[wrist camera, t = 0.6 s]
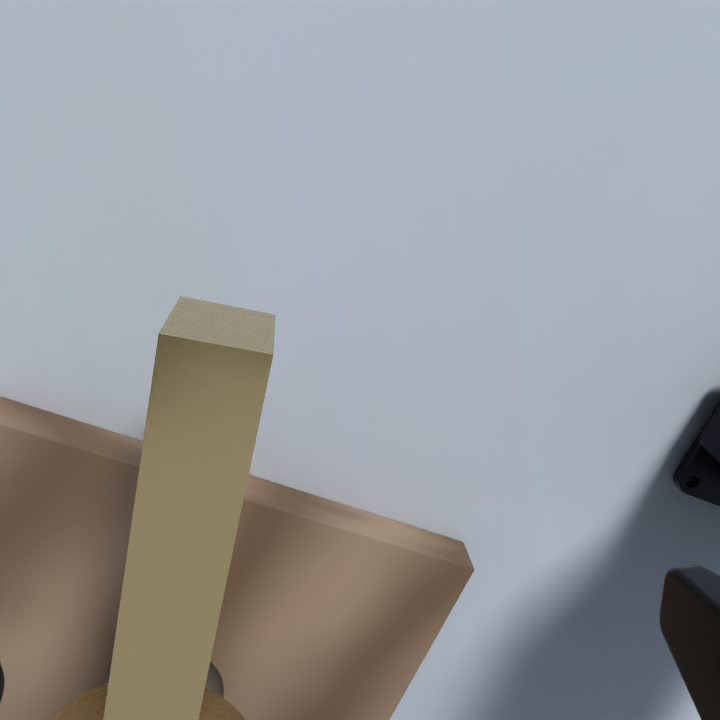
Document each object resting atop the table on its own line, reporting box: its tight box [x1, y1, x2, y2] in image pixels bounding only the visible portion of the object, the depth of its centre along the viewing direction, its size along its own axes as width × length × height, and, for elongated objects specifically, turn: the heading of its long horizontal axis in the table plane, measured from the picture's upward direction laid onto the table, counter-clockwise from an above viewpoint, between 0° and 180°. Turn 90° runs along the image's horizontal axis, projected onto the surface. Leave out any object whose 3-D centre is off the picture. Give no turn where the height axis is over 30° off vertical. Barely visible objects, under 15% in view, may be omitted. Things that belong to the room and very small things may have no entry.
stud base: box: [0, 397, 474, 720], centre depth 22 cm, size 16×16×4 cm
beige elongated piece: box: [52, 296, 275, 720], centre depth 16 cm, size 18×6×4 cm, turn 167°
